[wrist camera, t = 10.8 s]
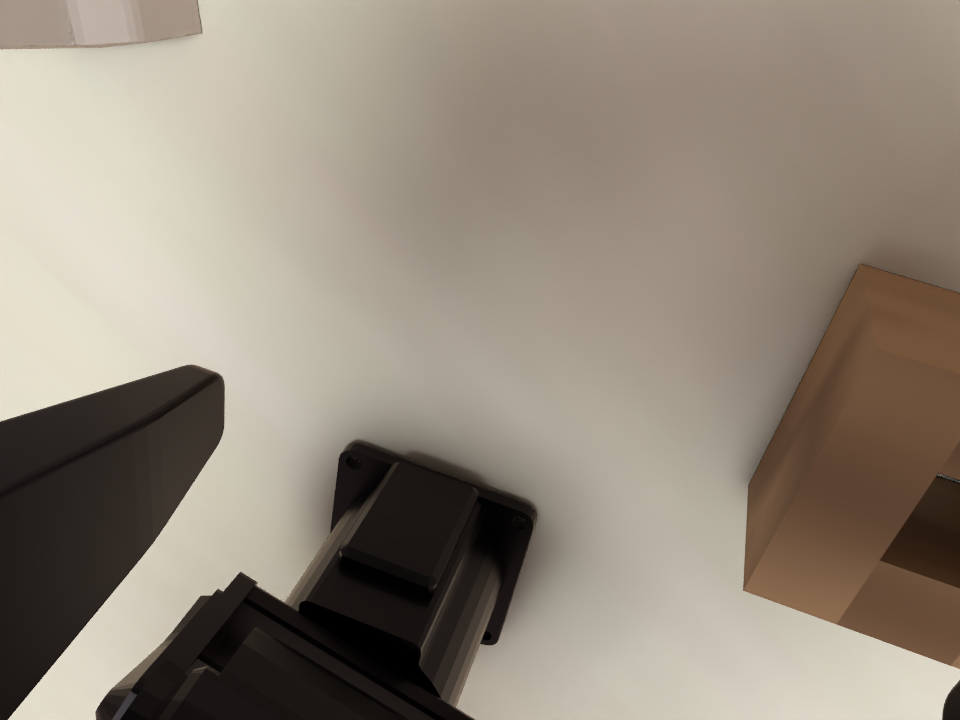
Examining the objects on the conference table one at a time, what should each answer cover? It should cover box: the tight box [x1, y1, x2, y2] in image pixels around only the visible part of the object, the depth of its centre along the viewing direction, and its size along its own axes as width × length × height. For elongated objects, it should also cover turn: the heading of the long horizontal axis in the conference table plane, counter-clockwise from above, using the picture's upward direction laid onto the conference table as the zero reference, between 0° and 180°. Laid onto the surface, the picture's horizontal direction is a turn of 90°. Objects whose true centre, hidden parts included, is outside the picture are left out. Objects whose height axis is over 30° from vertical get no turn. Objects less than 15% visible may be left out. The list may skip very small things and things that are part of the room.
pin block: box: [743, 264, 960, 669], centre depth 19 cm, size 7×7×4 cm
